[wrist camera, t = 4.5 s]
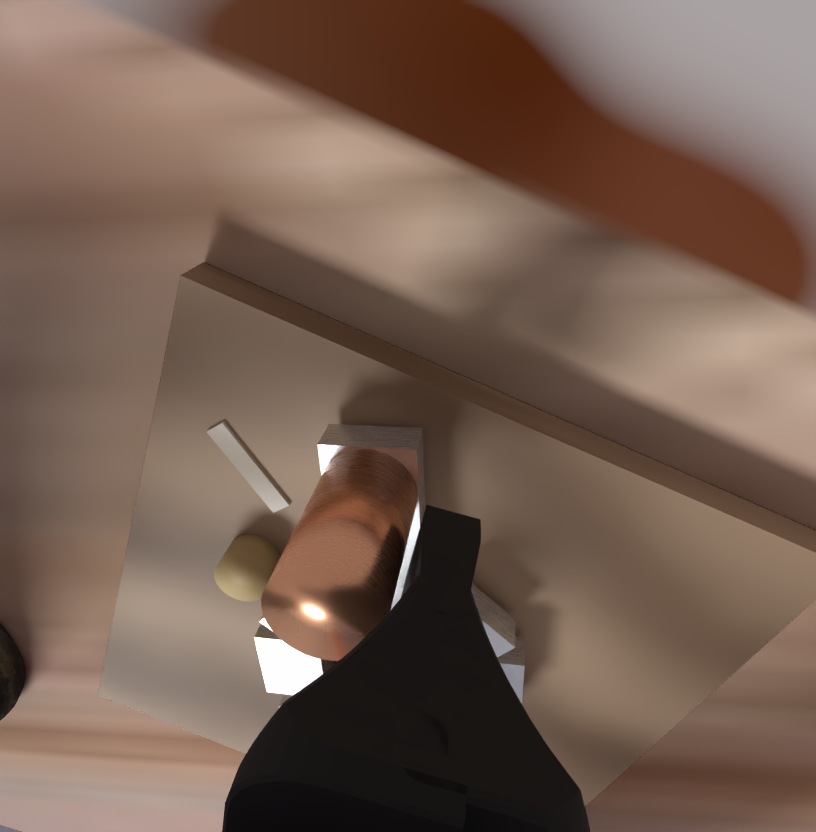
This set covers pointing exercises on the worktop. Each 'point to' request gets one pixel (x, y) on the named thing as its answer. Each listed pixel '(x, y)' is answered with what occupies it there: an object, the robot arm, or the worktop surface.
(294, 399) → the jig base
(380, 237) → the worktop surface
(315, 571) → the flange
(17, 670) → the container
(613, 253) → the worktop surface
